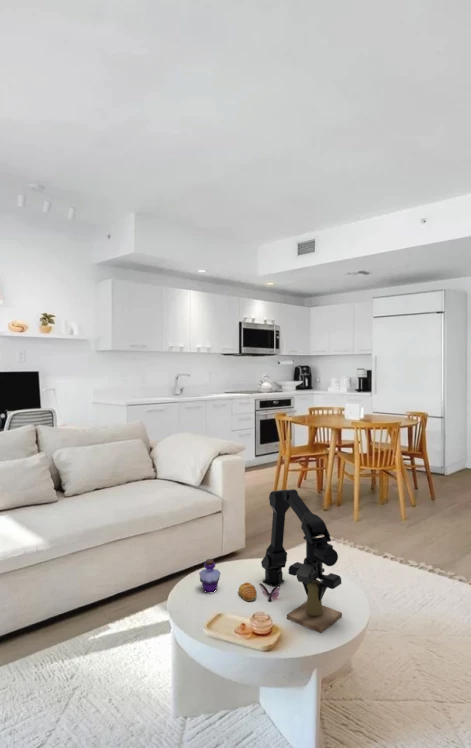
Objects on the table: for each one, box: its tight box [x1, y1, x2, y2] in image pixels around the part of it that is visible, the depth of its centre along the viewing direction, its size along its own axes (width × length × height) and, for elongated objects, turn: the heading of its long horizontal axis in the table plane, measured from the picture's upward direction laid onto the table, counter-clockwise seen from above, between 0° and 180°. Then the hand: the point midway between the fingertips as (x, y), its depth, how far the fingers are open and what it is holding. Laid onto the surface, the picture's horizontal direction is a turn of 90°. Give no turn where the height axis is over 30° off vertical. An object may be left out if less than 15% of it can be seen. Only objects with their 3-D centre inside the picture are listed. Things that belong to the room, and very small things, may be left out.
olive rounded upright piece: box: [306, 579, 323, 616], centre depth 177 cm, size 6×6×11 cm
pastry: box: [238, 582, 257, 602], centre depth 194 cm, size 9×7×4 cm
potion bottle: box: [198, 558, 221, 593], centre depth 199 cm, size 9×9×12 cm
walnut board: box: [286, 601, 343, 634], centre depth 177 cm, size 14×14×2 cm
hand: (314, 598), depth 177 cm, fingers closed on olive rounded upright piece, 4 cm apart
